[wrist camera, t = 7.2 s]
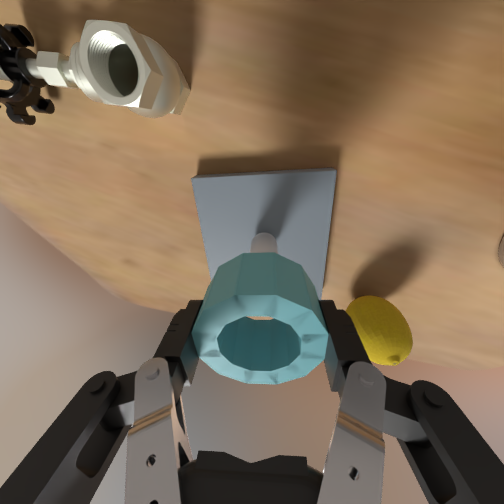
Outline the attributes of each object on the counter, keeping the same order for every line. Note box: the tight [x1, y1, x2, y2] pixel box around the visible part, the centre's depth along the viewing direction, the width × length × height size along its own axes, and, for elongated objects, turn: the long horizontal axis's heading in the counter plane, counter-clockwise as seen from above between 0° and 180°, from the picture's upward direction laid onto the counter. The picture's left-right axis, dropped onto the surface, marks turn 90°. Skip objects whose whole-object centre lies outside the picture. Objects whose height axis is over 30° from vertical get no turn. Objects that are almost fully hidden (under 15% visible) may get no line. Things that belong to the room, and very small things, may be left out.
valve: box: [0, 20, 191, 125], centre depth 14 cm, size 7×7×12 cm
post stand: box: [191, 168, 337, 300], centre depth 18 cm, size 12×14×10 cm
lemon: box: [346, 296, 413, 366], centre depth 22 cm, size 6×6×8 cm
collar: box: [191, 252, 329, 384], centre depth 12 cm, size 6×6×4 cm
